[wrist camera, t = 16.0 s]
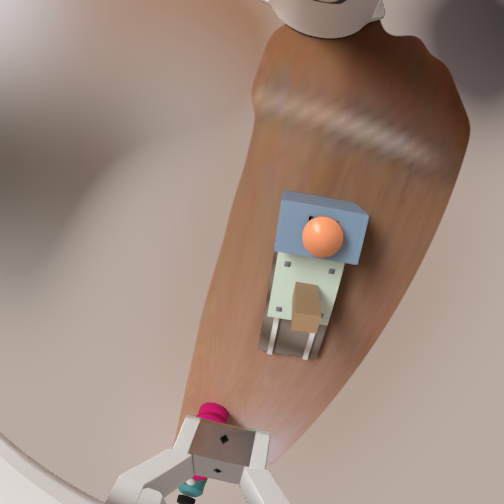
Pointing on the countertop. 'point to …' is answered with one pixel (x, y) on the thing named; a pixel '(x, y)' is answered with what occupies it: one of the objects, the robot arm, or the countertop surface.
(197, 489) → the beverage bottle
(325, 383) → the countertop surface
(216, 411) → the pepper mill
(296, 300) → the carriage
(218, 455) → the robot arm
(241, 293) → the countertop surface
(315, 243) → the orange rounded knob
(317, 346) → the track
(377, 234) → the countertop surface
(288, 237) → the blue side pieces
